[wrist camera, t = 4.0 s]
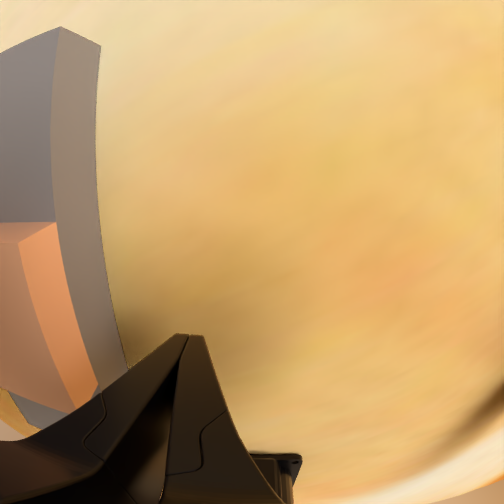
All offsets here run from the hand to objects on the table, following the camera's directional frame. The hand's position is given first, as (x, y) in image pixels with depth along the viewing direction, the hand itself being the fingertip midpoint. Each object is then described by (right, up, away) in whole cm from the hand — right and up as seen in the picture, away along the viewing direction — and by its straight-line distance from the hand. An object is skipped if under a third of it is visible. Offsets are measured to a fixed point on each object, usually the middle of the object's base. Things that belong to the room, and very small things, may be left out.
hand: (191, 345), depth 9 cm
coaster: (-8, +1, +1) cm, 8 cm away
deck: (-9, +2, +4) cm, 9 cm away
